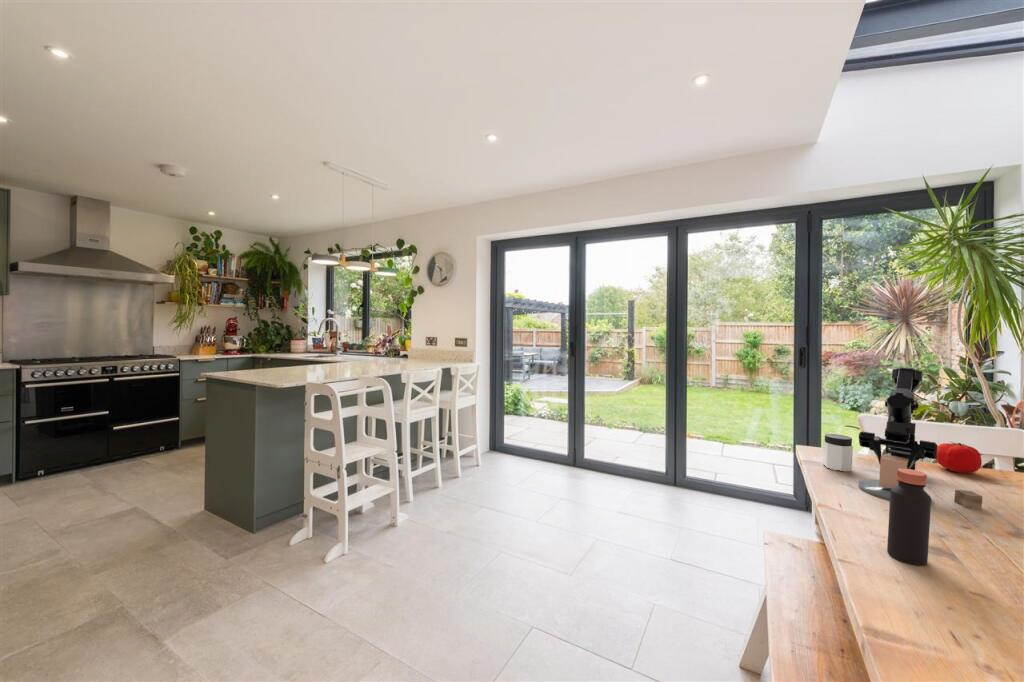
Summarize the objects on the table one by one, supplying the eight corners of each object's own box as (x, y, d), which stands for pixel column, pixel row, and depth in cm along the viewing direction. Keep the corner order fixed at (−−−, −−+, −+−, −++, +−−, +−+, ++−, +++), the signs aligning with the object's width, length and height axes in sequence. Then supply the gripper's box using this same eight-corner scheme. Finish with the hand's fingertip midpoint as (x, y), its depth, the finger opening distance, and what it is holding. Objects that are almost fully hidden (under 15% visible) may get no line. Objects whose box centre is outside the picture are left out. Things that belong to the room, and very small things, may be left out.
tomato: (987, 479, 148) (989, 450, 148) (939, 472, 155) (940, 444, 154) (972, 469, 160) (973, 441, 159) (927, 462, 166) (929, 436, 166)
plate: (863, 495, 132) (863, 492, 132) (853, 479, 146) (854, 475, 146) (938, 509, 123) (938, 505, 123) (920, 489, 138) (920, 486, 138)
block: (954, 502, 128) (955, 489, 128) (970, 504, 127) (971, 491, 127) (964, 507, 125) (965, 494, 124) (981, 509, 124) (982, 496, 123)
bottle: (914, 568, 92) (919, 478, 91) (879, 552, 99) (884, 468, 98) (935, 563, 94) (940, 475, 93) (899, 548, 101) (904, 465, 100)
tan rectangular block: (881, 480, 139) (882, 454, 139) (907, 486, 135) (908, 458, 134) (879, 485, 135) (880, 457, 134) (905, 491, 130) (907, 462, 130)
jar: (854, 469, 157) (856, 437, 157) (848, 473, 152) (850, 440, 152) (825, 462, 164) (827, 432, 164) (819, 466, 159) (820, 435, 158)
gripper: (860, 407, 143) (854, 445, 136) (939, 417, 130) (936, 460, 123) (863, 426, 149) (856, 464, 142) (937, 437, 135) (935, 480, 128)
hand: (893, 466), depth 133 cm, fingers closed on tan rectangular block, 6 cm apart
